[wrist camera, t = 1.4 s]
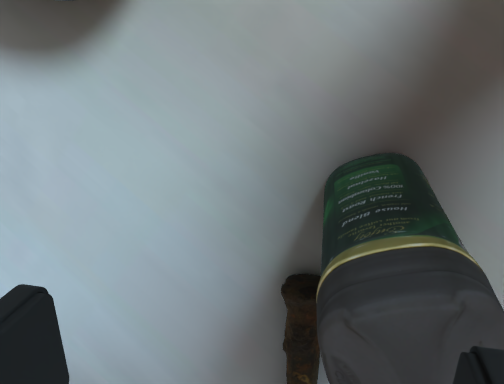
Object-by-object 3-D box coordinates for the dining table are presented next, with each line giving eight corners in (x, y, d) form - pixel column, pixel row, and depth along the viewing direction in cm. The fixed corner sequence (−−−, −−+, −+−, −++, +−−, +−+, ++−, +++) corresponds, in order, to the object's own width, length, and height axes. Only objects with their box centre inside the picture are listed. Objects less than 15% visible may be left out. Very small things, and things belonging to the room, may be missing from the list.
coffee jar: (312, 167, 32) (288, 311, 15) (416, 139, 30) (523, 273, 13) (343, 270, 35) (352, 491, 18) (440, 252, 33) (555, 484, 16)
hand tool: (285, 267, 36) (278, 298, 32) (331, 273, 35) (330, 305, 31) (273, 422, 43) (267, 464, 39) (312, 429, 42) (309, 473, 38)
